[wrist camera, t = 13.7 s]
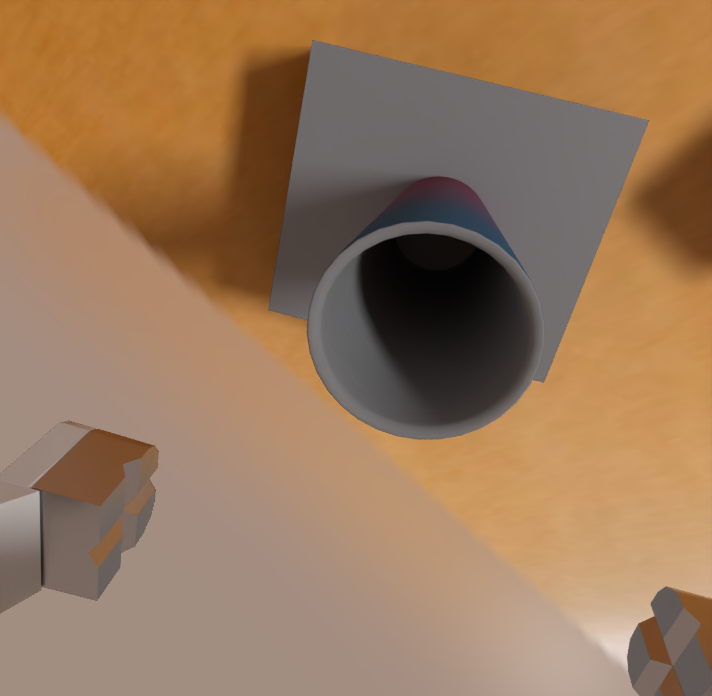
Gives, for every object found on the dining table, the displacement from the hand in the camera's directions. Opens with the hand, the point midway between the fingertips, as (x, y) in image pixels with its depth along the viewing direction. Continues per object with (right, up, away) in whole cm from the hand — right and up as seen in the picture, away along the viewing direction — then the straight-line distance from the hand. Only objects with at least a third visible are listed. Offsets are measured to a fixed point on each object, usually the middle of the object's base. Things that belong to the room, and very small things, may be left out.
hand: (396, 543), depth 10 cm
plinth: (+4, +11, +26) cm, 29 cm away
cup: (+4, +9, +21) cm, 24 cm away
